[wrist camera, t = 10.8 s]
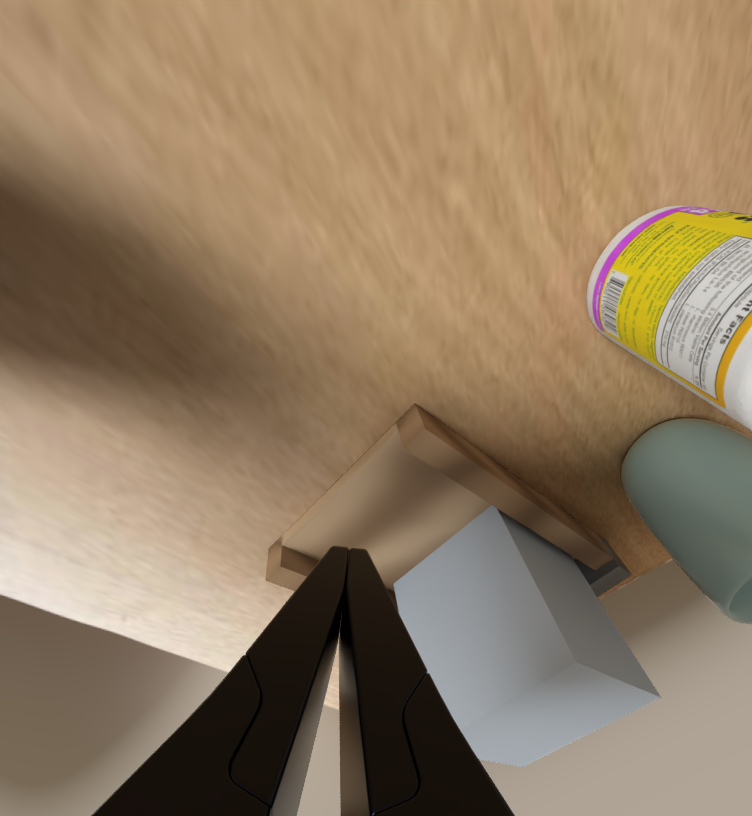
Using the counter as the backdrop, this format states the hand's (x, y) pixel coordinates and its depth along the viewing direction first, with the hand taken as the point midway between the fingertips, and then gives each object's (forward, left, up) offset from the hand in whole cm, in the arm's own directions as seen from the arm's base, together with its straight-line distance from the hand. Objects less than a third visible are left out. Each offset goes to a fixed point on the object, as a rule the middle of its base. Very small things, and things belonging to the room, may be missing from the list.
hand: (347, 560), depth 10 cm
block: (+21, +1, -12) cm, 24 cm away
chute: (+19, 0, -13) cm, 22 cm away
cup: (+18, +16, -13) cm, 27 cm away
